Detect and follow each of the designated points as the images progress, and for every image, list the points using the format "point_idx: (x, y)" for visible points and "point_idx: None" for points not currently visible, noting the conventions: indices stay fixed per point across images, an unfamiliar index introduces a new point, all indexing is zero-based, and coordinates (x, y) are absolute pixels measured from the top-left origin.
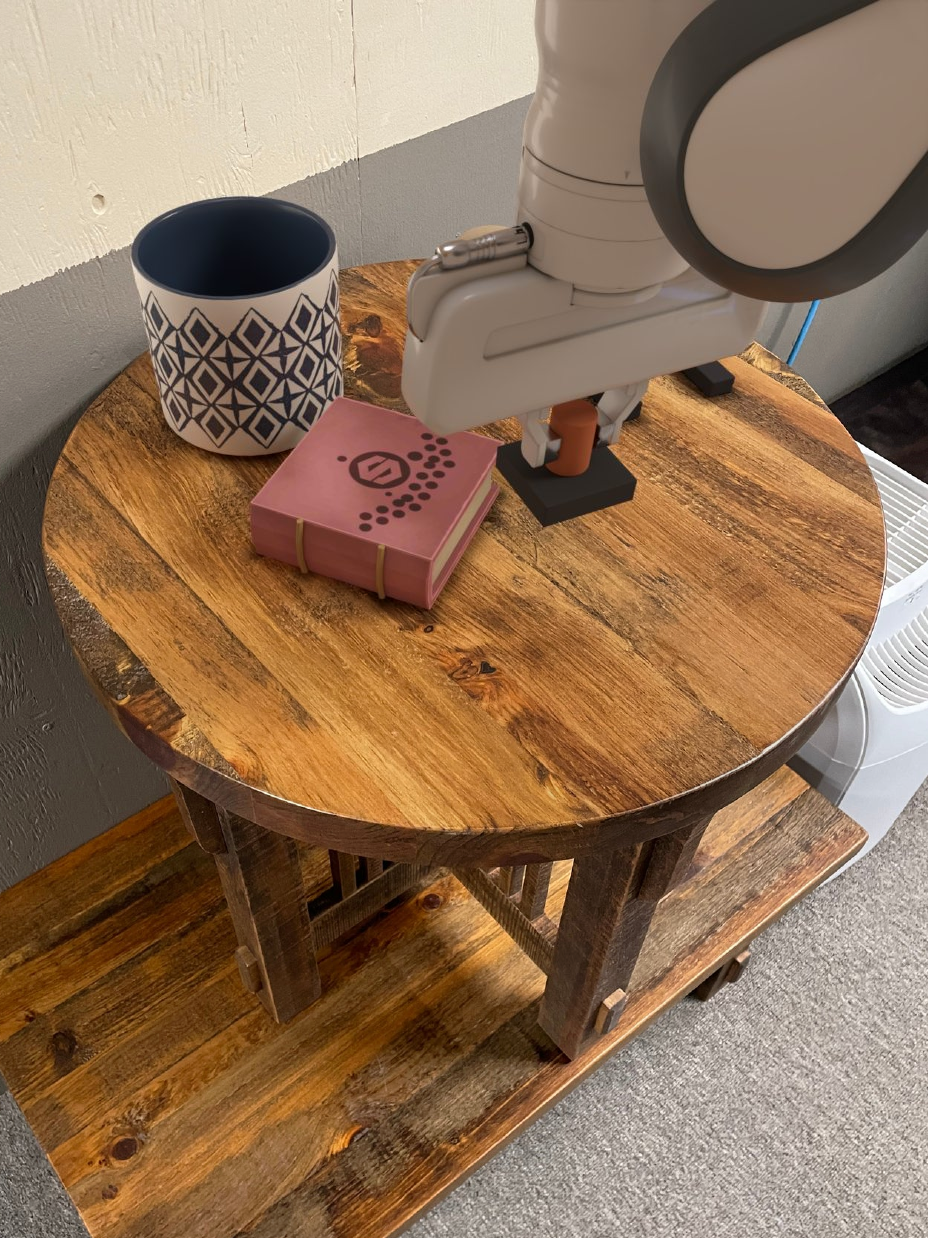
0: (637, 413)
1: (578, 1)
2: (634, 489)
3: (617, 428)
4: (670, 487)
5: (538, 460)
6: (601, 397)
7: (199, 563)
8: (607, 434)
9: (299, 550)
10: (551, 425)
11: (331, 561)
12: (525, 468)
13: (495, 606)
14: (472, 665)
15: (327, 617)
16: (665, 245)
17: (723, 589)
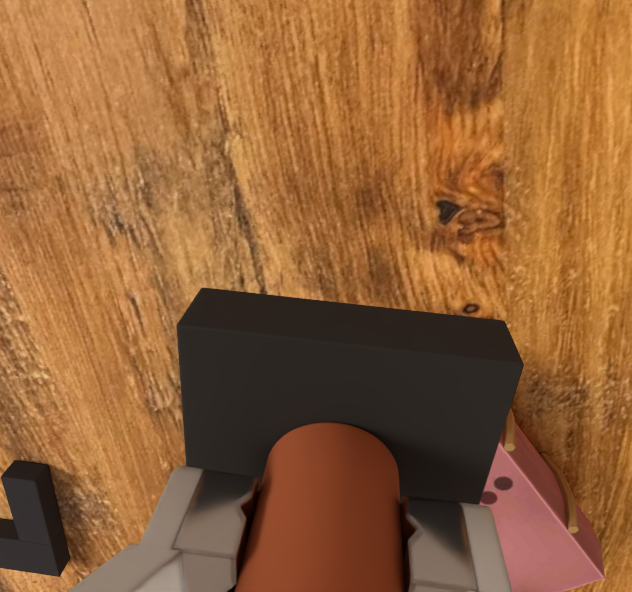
0: (14, 465)
1: None
2: (191, 306)
3: (167, 520)
4: (28, 354)
5: (488, 527)
6: (47, 503)
7: None
8: (211, 513)
9: (569, 487)
10: None
11: (537, 455)
12: None
13: (363, 298)
14: (461, 225)
15: (572, 386)
16: None
17: (39, 165)
